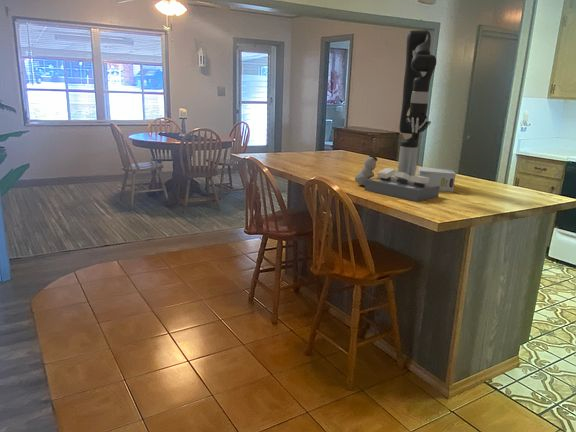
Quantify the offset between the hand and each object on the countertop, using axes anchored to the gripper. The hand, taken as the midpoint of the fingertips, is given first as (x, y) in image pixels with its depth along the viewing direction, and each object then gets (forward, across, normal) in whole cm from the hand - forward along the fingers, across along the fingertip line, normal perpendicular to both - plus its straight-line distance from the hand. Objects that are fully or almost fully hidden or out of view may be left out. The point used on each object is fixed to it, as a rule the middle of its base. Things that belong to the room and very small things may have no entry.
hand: (414, 141), depth 209 cm
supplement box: (+25, -2, -19) cm, 31 cm away
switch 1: (+17, +9, +6) cm, 20 cm away
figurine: (+24, +21, +7) cm, 33 cm away
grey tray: (+24, 0, +7) cm, 25 cm away
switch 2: (+17, 0, +7) cm, 18 cm away
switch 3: (+17, -9, +7) cm, 20 cm away
